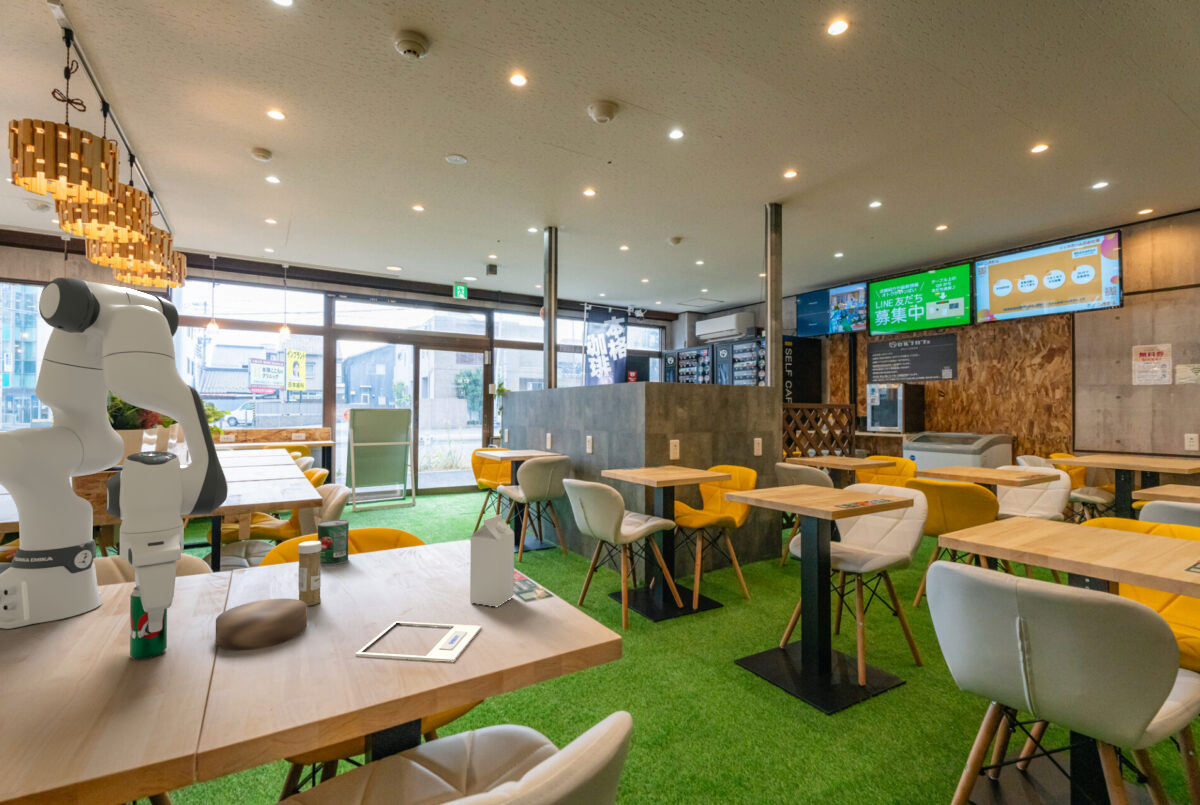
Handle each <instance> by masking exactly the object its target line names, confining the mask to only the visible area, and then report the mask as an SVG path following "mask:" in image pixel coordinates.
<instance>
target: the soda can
mask: <svg viewBox="0 0 1200 805" xmlns="http://www.w3.org/2000/svg"><path fill="white" fill-rule="evenodd" d="M129 600H130V604H129V605H130V607H129V608H130V609H129V611H130V612H129V613H130V614H129V615H130V616H129V618H130V619H129V656H130V657H131V658H132V659H133V660H138V661H139V660H149V659H152V658H155V657H158V656H160V655H162V654H163V653H164V652H165V651H166V649H167V648H168V639H167V638H168V608H166V609H164V615H163V620H162V629H161V630H160V631H157V632H152V633H151V632H149V629H148V612H145V611H144V609H143V605H142V602H141V599H140V589H139V586H137V587H136V586H135V587H133V590H132V592H131V594H130V597H129Z"/></svg>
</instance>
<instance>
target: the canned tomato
mask: <svg viewBox="0 0 1200 805" xmlns="http://www.w3.org/2000/svg"><path fill="white" fill-rule="evenodd" d="M349 524H350V521H349V520H348V519H347V520H346V519H331V520H328V519H327V520H323V521H320V522H318V523H317V541H320V542H321V552H320V566H323V565H330V566H336V565H335V564H338V565H340V564H339V563H342V564H344V562H345V563H347V562H348V561H349V538H350V537H349V529H350V528H349ZM346 561H347V562H346Z"/></svg>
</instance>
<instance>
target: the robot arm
mask: <svg viewBox="0 0 1200 805" xmlns="http://www.w3.org/2000/svg"><path fill="white" fill-rule="evenodd" d="M38 308H39V310H38V311H39V315H40V316H41V318H42V319H43V320H44V321H45V323H46V324H47V325H49V326H50V327H53V330H52V331H51V333H50V336H49V337H48V340H47V343H46V346H45V350H44V352H43V353H44V354H43V357H42V360H41V365H40V370H39V373H38V377H37V382H36V387H35V395H36V398H37V399H38V400H39V401H40V402H41V403H42V404H43V405H45V406H47V407H48V408H50V410H51V412H52V420H53V423H52V426H45V427H22V428H17V429H12V430H8V431H4V432H0V485H1V486H2V487H3V488H4V489H5V490H6V491H7V492H8V494H9V495H10V496H11V498H12V501H13V502H14V504H15V507H16V509H17V513H18V514H17V515H18V528H19V547H18V548H17V549H16V550H12V551H8V552H6V554H7V556H6V559H9V558H12V560H11V562H10V565H9V566H10V567H9V568H7V569H5V570H4V571H2V573H0V629H7V630H8V629H15V628H20V627H24V626H29V625H33V624H39V623H45V622H53V621H58V620H62V619H66V618H70V617H75V616H78V615H80V614H81V615H82V614H84V613H86V612H87V613H88V612H90V611H92V610H94V609H96V608H98V607H100V606H101V605H102V604H103V601H102V599H101V598H102V593H101V591H99V586H98V579H97V571H96V564H95V563H94V559H95V558H94V557H95V556H96V548H97V545H96V540H95V539H93V526H94V524H93V523H94V522H93V521H94V515H93V514H94V511H93V510H94V508H93V505H92V504H91V502H90V501H88V500H87V499H86V498H83V497H81V496H79V495H77V494H76V492H75V491H74V489H73V487H72V484H71V479H70V478H72V477H73V478H74V477H81V476H87V475H89V476H90V475H93V474H97V473H100V472H103V471H105V470H108V469H112V468H113V467H115V466H117V465H118V464H119V463H120V462H121V461H122V459H123V458H124V455H125V450H126V447H125V443H124V439H123V437H122V436H121V435H120V433H119V432H117V431H116V430H115V429H114V428H113V427H112V424H111V421H110V418H109V415H108V397H109V393H111V394H113V395H114V397H116V398H118V399H120V400H121V401H123V402H124V403H126V404H129V405H130V406H131V405H132V406H134V407H136V408H137V407H138V408H140V409H144V410H148V411H150V412H151V411H152V412H154V413H157V414H161V415H163V416H166V417H169V418H171V419H172V420H174V421H175V422H176V423H178V425H180V427H181V429H182V432H183V435H184V438H185V442H186V446H187V450H188V453H189V457H190V461H191V463H189V464H186V465H185V464H184V465H181V463H180V459H179V456H178V455H177V454H175V453H173V452H170V451H169V452H168V451H161V450H150V451H139V452H137V453H136V452H135V453H131V454H130V455H128V456H126V457H125V458H124V461H123V463H122V464H123V465H122V470H119V471H118V472H115V474H113V475H112V476H111V477H109V479H108V480H106V481H105V482H104V483H105V486H106V494H107V495H106V497H107V498H106V507H105V513H107V514H109V515H110V516H112V517H114V518H116V519H118V520H122V521H121V524H120V527H119V560H122V561H126V562H127V563H128V566H129V567H130V568H131V569H133V570H134V581H135V582H134V583H135V587H137V586H139V589H140V599H141V602H142V605H143V609H144V611H145V612H148V629H149V632H151V633H152V632H157V631H160V630H161V629H162V620H163V615H164V609H166V608H167V609H169V608H171V607H172V605H173V599H174V596H175V586H176V574H177V561H180V560H181V558H182V552H183V551H184V538H185V537H184V533H185V532H184V531H185V530H184V520H183V517H182V516H187V515H188V516H198V515H201V516H202V515H210V514H212V513H213V512H214V511H216V510H217V509H219V507H221V506H222V505H223V503H225V502H226V501H227V498H228V492H229V491H228V490H229V487H228V486H229V485H228V480H227V478H226V476H225V473H224V470H223V467H222V465H221V463H220V460H219V456H218V454H217V453H218V452H217V450H216V445H215V442H214V438H213V436H212V431H211V429H210V424H209V421H208V418H207V414H206V411H205V408H204V405H203V402H202V398H201V397H200V394H199V393H198V391H197V389H196V388H195V387H194V386H191V385H190V384H187V383H186V382H185V381H184V380H183V378H182V376H181V375H180V373H179V372H178V369H177V365H176V354H175V353H176V352H175V345H174V340H173V337H174V336H175V334H176V333H177V331H178V327H179V323H180V317H179V312H178V310H177V308H176V306H175V304H173V303H172V302H171V301H169V300H167V299H166V298H162V297H160V296H158V295H151V294H147V293H145V292H141V291H138V290H135V289H131V288H128V287H123V286H120V285H117V286H116V285H112V284H111V285H110V284H105V283H101V282H93V281H86V280H84V279H82V278H75V277H56V278H54V279H52V280H51V281H49V282H48V283H47V284H46V285H45V286H44V287H43V289H42V291H41V293H40V297H39V303H38ZM8 554H9V555H8Z"/></svg>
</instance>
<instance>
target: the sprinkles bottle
mask: <svg viewBox="0 0 1200 805" xmlns="http://www.w3.org/2000/svg"><path fill="white" fill-rule="evenodd" d="M297 549H298V550H297V553H298V600H301V601H303V602H305V603H306V604H307V607H311V606H315V605H317V604H319V603H321V601H322V599H321V586H322V585H321V578H322V577H321V575H322V573H321V569H322V568H321V565H320V552H321V542H320V541H318V540H308V541H303V542H301V543H298V547H297Z"/></svg>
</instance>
